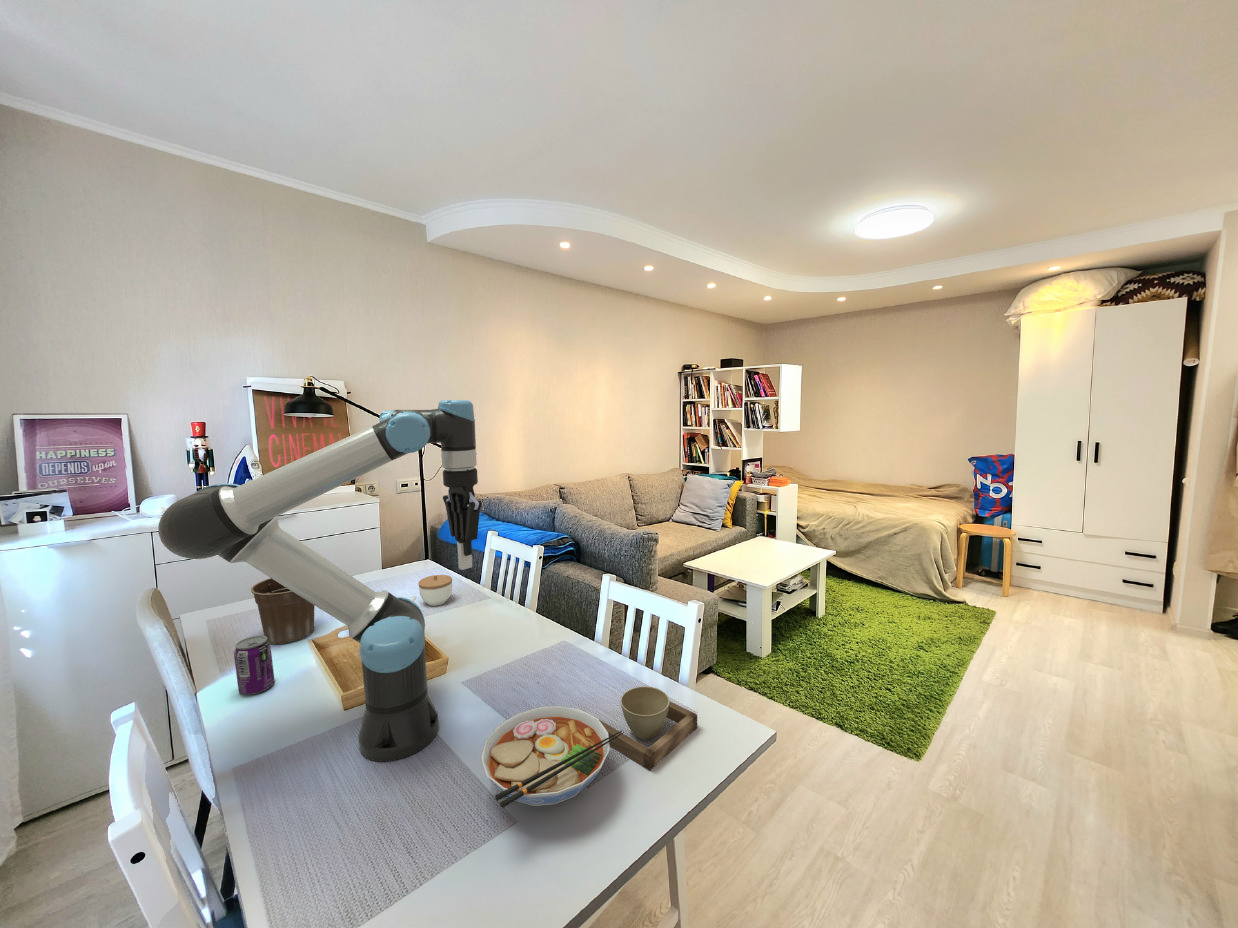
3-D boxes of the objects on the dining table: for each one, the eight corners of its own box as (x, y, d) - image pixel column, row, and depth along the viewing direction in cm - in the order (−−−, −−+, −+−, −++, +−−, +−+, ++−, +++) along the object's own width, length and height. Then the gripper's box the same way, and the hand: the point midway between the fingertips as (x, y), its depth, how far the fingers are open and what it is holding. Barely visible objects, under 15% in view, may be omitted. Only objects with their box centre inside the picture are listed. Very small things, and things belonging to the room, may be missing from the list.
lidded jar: (430, 595, 176) (428, 569, 175) (458, 596, 175) (457, 570, 173) (413, 607, 166) (411, 580, 164) (444, 609, 164) (442, 582, 163)
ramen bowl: (571, 721, 108) (570, 686, 106) (641, 785, 90) (641, 743, 89) (456, 777, 92) (454, 737, 91) (514, 868, 74) (512, 819, 73)
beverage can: (278, 687, 121) (273, 641, 120) (242, 700, 116) (236, 652, 114) (270, 676, 126) (265, 631, 124) (235, 688, 121) (229, 642, 119)
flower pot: (644, 710, 111) (644, 680, 110) (679, 732, 104) (679, 700, 103) (611, 731, 104) (610, 699, 103) (645, 756, 97) (645, 722, 96)
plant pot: (333, 621, 156) (328, 572, 154) (303, 648, 140) (297, 593, 138) (280, 623, 156) (274, 573, 153) (243, 649, 140) (236, 594, 137)
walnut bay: (649, 770, 93) (649, 756, 93) (594, 736, 103) (593, 722, 102) (697, 727, 105) (697, 714, 105) (643, 700, 115) (643, 688, 114)
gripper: (490, 468, 113) (495, 569, 116) (459, 463, 121) (464, 557, 125) (460, 473, 107) (466, 578, 111) (430, 467, 116) (436, 565, 119)
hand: (465, 567), depth 118 cm, fingers closed
